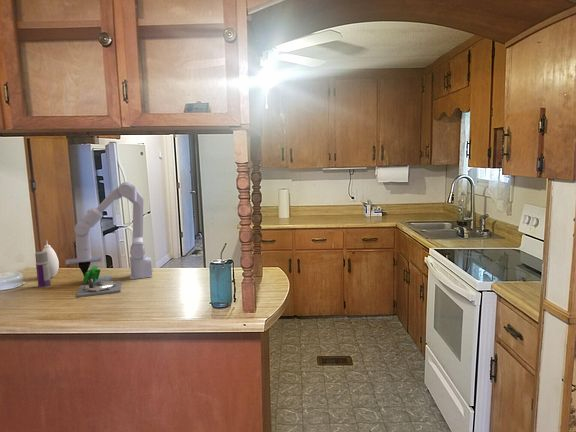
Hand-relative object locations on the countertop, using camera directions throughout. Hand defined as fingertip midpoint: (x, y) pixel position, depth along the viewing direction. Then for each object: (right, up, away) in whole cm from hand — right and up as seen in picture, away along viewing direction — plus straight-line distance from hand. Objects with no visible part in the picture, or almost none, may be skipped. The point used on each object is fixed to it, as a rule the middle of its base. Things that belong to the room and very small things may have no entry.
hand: (85, 278), depth 182 cm
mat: (+6, -1, +3) cm, 7 cm away
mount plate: (+11, -3, -11) cm, 16 cm away
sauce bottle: (-21, -1, +9) cm, 23 cm away
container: (-16, -3, -4) cm, 17 cm away
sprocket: (+11, -3, -11) cm, 16 cm away
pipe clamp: (+2, -1, +1) cm, 3 cm away
